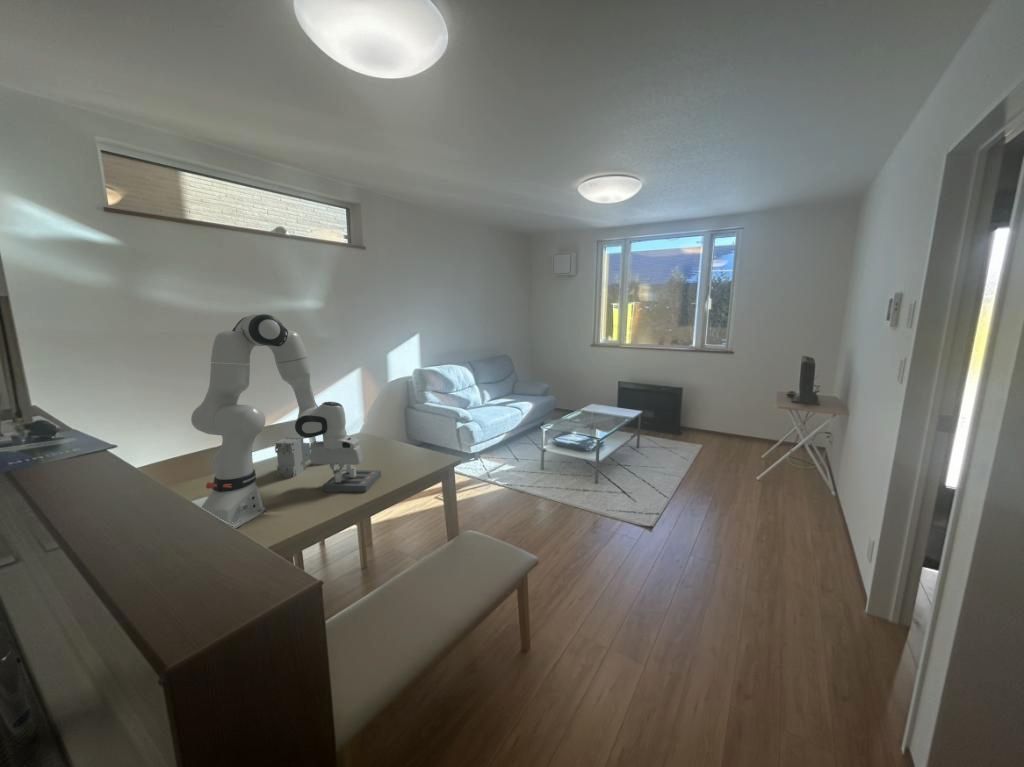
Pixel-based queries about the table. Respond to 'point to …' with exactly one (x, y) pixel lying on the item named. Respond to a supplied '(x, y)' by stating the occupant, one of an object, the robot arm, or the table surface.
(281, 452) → the circuit breaker
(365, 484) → the panel
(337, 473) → the breaker near
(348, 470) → the breaker far
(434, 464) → the table surface
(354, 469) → the breaker mid
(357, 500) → the table surface
